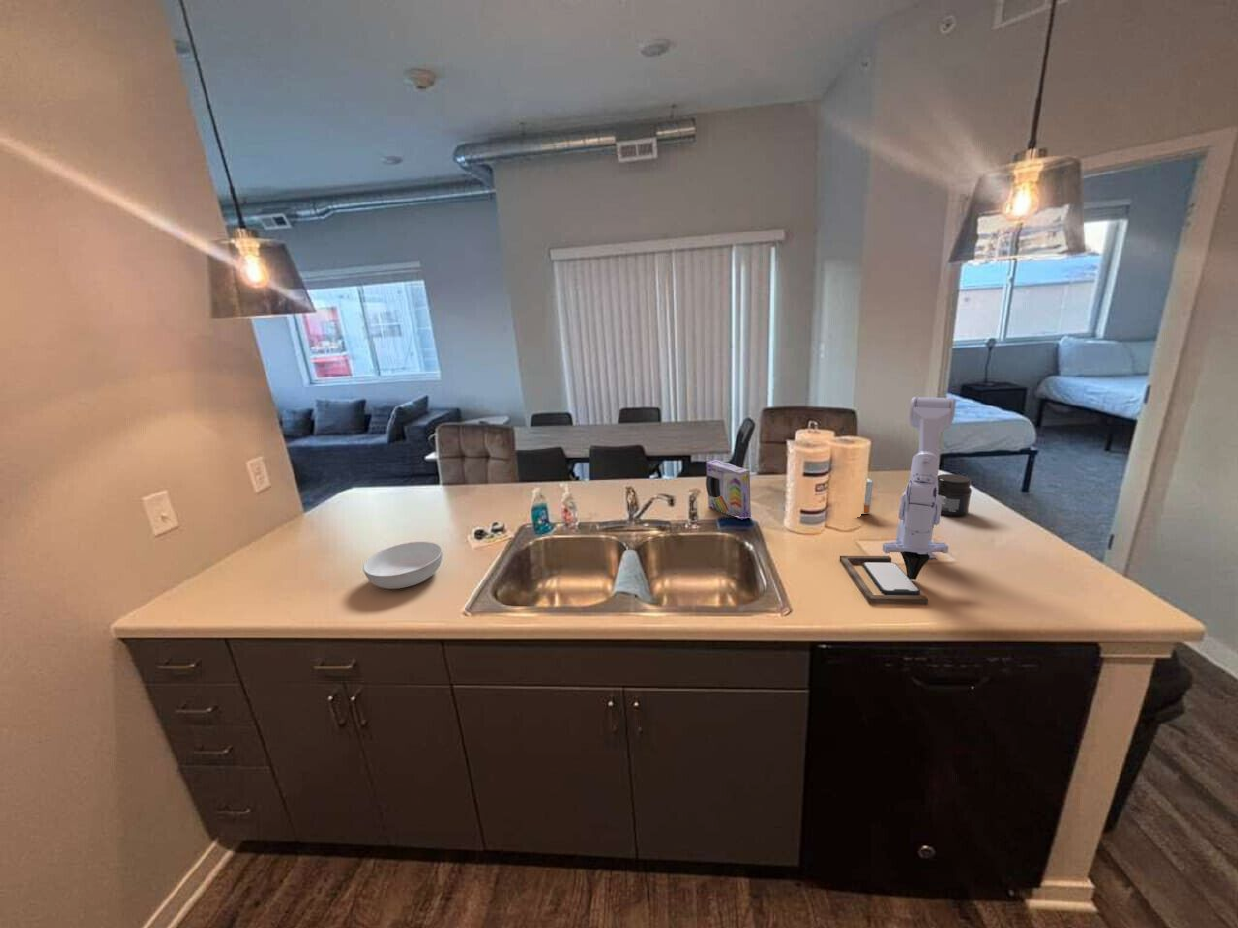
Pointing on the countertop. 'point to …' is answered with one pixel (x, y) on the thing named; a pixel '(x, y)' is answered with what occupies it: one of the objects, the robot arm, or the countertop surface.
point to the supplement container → (954, 494)
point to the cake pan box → (728, 488)
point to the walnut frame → (867, 592)
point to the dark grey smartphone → (890, 578)
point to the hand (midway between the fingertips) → (911, 577)
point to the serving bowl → (403, 564)
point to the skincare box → (868, 496)
